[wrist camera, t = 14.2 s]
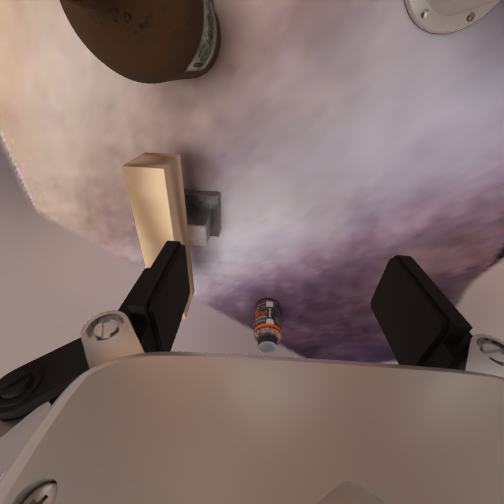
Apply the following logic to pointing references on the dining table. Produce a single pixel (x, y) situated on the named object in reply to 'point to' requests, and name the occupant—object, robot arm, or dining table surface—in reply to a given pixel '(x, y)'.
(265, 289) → the dining table surface
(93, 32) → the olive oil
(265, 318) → the supplement bottle
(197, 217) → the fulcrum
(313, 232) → the dining table surface
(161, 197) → the oak bar
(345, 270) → the dining table surface
